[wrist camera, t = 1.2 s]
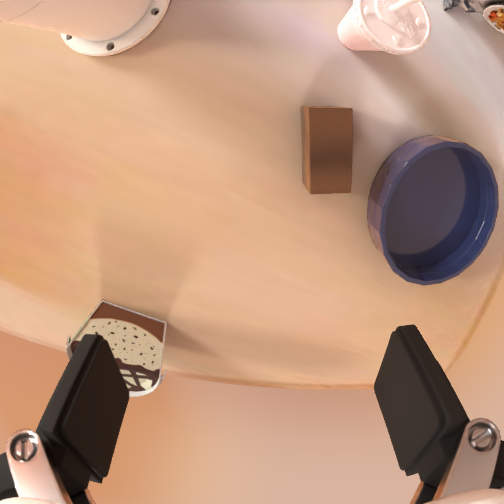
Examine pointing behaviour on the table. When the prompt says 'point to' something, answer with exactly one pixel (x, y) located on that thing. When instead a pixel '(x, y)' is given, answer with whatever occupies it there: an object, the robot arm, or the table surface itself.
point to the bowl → (432, 209)
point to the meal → (482, 10)
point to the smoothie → (385, 26)
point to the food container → (128, 344)
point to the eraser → (327, 149)
